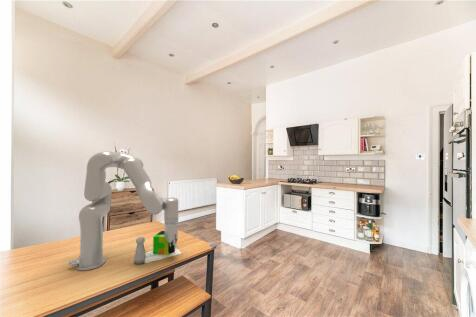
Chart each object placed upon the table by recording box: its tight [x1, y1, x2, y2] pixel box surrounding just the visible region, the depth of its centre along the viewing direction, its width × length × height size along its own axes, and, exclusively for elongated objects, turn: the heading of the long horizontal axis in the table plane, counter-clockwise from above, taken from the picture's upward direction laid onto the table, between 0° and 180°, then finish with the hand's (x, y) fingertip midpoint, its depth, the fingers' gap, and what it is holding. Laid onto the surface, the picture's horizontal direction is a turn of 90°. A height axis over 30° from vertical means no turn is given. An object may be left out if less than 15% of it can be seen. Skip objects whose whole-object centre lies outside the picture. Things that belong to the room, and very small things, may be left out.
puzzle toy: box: [152, 230, 178, 255], centre depth 121 cm, size 10×10×10 cm
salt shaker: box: [133, 236, 146, 265], centre depth 107 cm, size 6×6×13 cm
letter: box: [143, 248, 182, 264], centre depth 117 cm, size 20×13×1 cm, turn 126°
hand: (171, 252), depth 113 cm, fingers closed
